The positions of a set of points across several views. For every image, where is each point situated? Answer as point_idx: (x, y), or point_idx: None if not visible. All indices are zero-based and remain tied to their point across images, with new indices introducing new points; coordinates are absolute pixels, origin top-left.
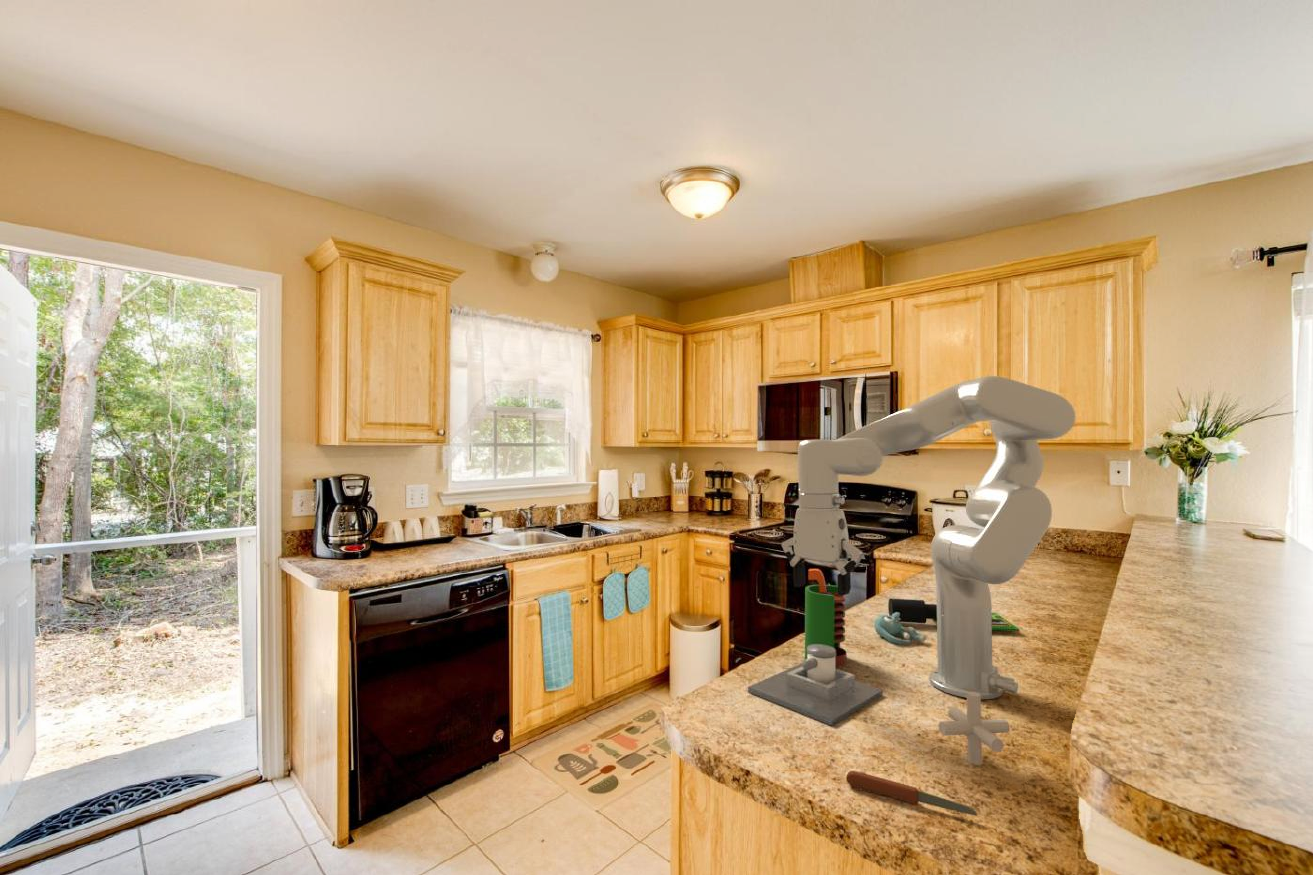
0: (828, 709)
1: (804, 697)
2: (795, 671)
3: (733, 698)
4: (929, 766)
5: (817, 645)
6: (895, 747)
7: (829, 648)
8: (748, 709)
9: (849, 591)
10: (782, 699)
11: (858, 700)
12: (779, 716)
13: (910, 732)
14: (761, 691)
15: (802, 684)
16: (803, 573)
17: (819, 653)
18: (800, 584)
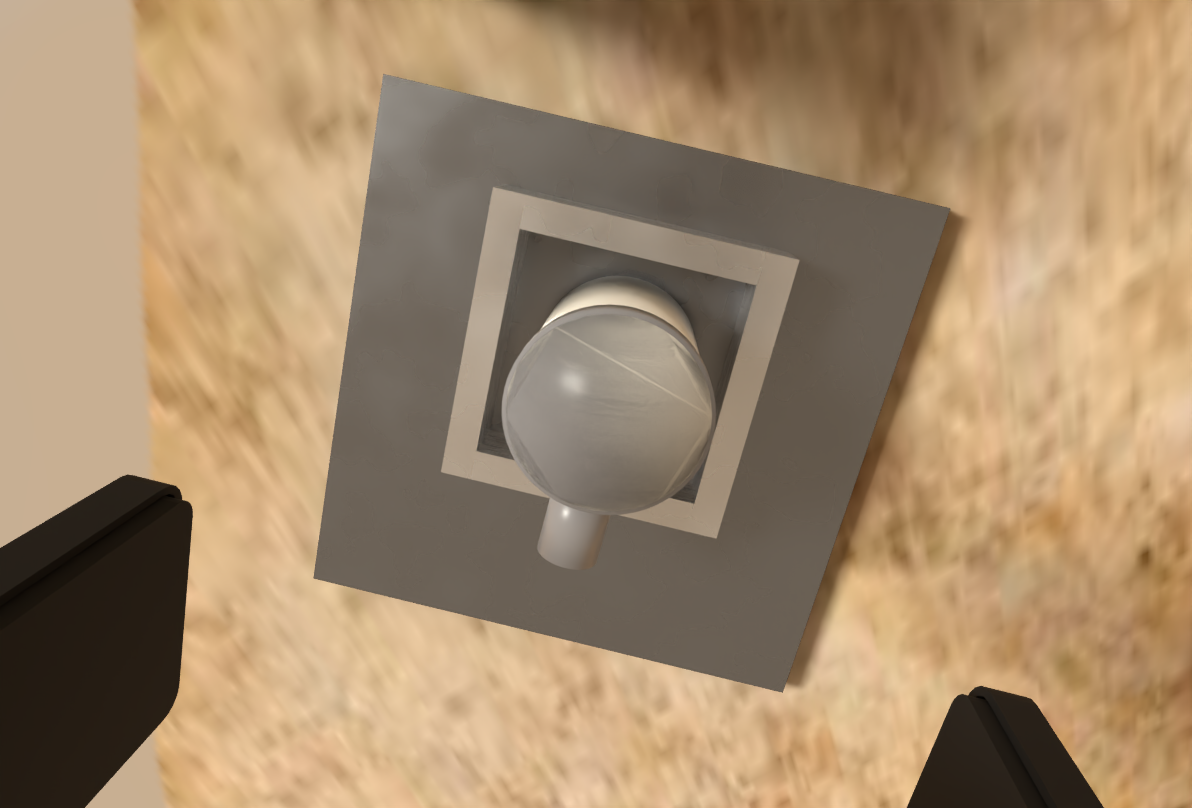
0: (738, 605)
1: None
2: (470, 416)
3: (308, 655)
4: (1183, 779)
5: (556, 359)
6: (1051, 711)
7: (655, 369)
8: (417, 713)
9: (1030, 701)
10: (515, 618)
11: (848, 432)
12: (555, 704)
13: (1108, 557)
14: (393, 591)
15: None
16: (44, 660)
17: (626, 510)
18: (170, 646)
